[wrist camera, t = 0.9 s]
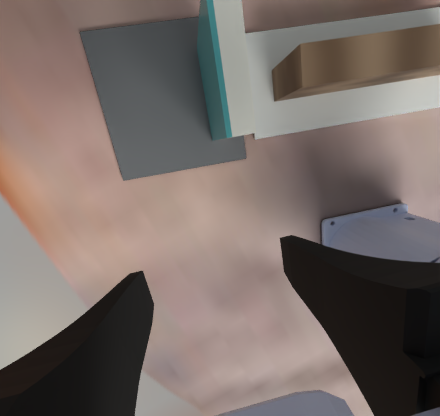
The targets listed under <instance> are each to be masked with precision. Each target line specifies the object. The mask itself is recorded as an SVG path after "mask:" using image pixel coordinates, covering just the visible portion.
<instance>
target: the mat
mask: <svg viewBox="0 0 440 416" xmlns="http://www.w3.org/2000/svg"><path fill="white" fill-rule="evenodd" d="M198 22H199V17H192V18H185V19H177V20H169V21H161V22H153V23H145V24H138V25H130V26H122V27H114V28H106V29H98V30H90V31H83V32H80V35H81V38H82V42H83V45H84V48H85V52H86V55H87V59H88V62H89V65H90V69H91V72H92V75H93V79H94V82H95V86H96V89H97V92H98V96H99V99H100V103H101V106H102V109H103V113H104V116H105V120H106V123H107V126H108V130H109V133H110V136H111V140H112V143H113V147H114V150H115V153H116V157H117V160H118V164H119V167H120V170H121V174H122V177H123V181H125V180H130V179H136V178H141V177H147V176H152V175H158V174H163V173H169V172H174V171H180V170H185V169H191V168H196V167H202V166H208V165H213V164H219V163H224V162H230V161H235V160H241V159H246V151H245V143H244V135H243V136H237V137H232V138H226V139H221V140H215V141H212V136H211V130H210V124H209V118H208V112H207V106H206V100H205V94H204V89H203V83H202V77H201V71H200V65H199V59H198V53H197V37H198Z"/></svg>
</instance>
